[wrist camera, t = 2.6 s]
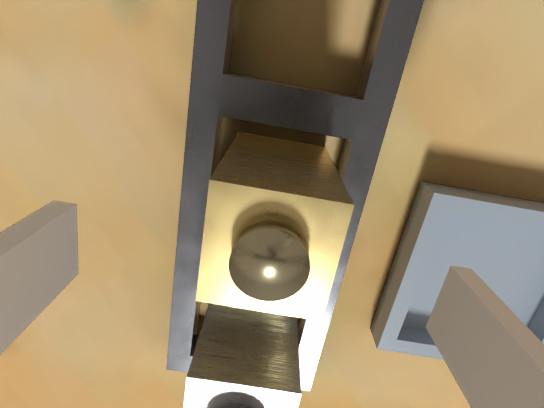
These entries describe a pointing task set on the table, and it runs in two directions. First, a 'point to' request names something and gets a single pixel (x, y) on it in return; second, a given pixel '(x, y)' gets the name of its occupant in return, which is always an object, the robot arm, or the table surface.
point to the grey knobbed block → (244, 361)
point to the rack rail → (289, 114)
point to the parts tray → (461, 262)
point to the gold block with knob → (273, 228)
